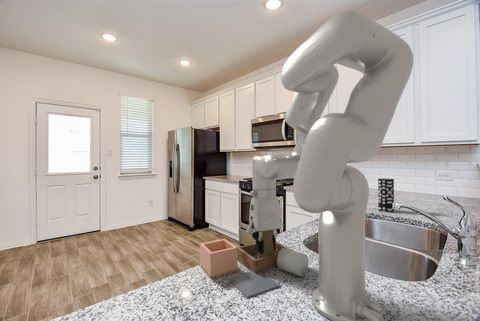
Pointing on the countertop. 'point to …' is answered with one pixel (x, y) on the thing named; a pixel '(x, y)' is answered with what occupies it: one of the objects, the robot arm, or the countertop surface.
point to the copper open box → (218, 258)
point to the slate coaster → (253, 283)
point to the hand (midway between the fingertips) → (266, 250)
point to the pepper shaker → (267, 244)
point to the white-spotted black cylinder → (385, 194)
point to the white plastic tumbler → (292, 262)
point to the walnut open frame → (260, 264)
